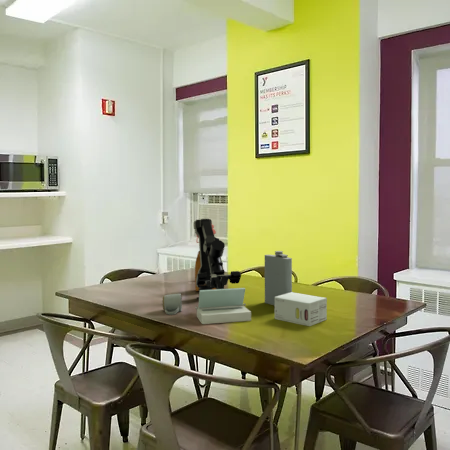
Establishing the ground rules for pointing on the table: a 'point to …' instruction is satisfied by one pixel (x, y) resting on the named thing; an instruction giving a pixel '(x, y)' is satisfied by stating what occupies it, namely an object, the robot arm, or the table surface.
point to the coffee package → (197, 269)
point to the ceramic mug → (172, 303)
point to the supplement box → (300, 308)
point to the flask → (277, 276)
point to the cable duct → (223, 314)
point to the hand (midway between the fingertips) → (221, 294)
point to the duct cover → (221, 298)
